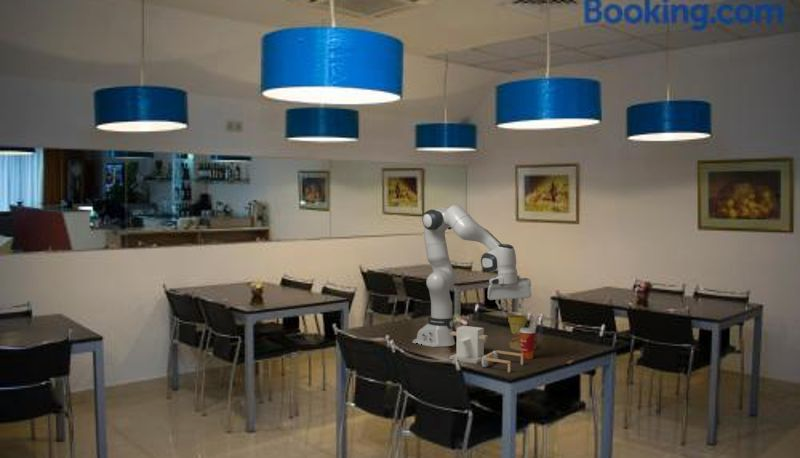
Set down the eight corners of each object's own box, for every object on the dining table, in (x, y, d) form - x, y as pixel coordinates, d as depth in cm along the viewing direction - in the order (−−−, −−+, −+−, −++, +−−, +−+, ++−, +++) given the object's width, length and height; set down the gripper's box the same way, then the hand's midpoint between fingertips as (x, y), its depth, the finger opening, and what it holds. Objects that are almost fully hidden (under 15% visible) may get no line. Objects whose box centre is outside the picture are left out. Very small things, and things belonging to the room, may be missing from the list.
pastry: (524, 343, 349) (525, 328, 348) (541, 350, 335) (541, 334, 335) (503, 346, 344) (503, 330, 343) (518, 352, 330) (518, 336, 330)
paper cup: (517, 356, 321) (517, 327, 321) (532, 355, 322) (532, 327, 321) (521, 360, 314) (521, 330, 313) (537, 359, 314) (537, 330, 314)
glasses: (509, 372, 291) (509, 360, 291) (481, 368, 299) (481, 356, 298) (523, 364, 305) (523, 353, 305) (495, 360, 313) (496, 349, 312)
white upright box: (490, 358, 316) (491, 328, 315) (477, 365, 303) (478, 334, 303) (456, 354, 325) (457, 324, 324) (443, 360, 313) (443, 329, 312)
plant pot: (526, 332, 379) (526, 315, 378) (526, 335, 368) (526, 318, 368) (508, 331, 380) (508, 314, 380) (507, 335, 370) (508, 317, 370)
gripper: (530, 276, 311) (532, 305, 311) (486, 279, 314) (488, 308, 315) (531, 278, 304) (533, 308, 305) (486, 281, 308) (488, 310, 308)
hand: (510, 308), depth 310 cm, fingers open, 8 cm apart
